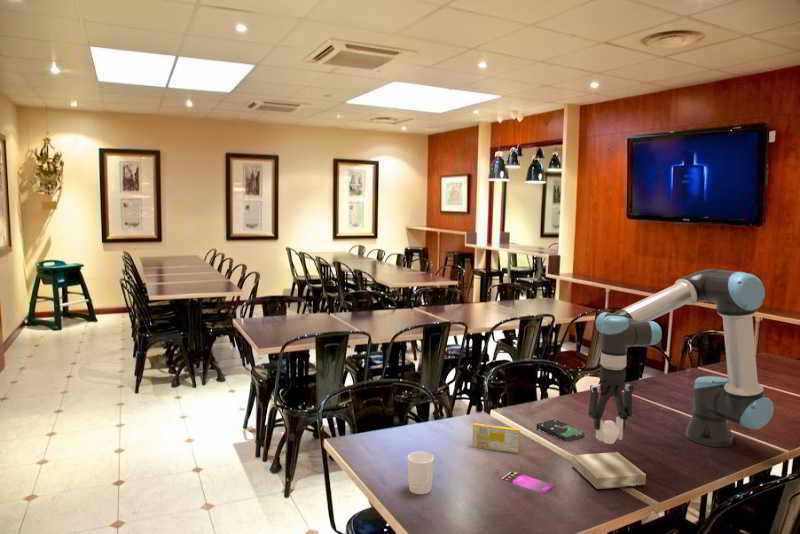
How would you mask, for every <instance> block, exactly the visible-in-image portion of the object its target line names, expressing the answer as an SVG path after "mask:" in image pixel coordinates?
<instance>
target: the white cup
mask: <svg viewBox="0 0 800 534" xmlns="http://www.w3.org/2000/svg"><path fill="white" fill-rule="evenodd" d="M406 459H407V461H406V462H407V480H408V481H407V482H408V491H409V492H411V493H412V494H415V495H426V494H428V493H430V492H431V491H432V489H433V488H432V487H433V486H432V485H433V478H434V476H433V475H434V465H435V463H434V462H435V457H434V455H433V454H432V453H429V452H427V451H413V452H411V453H409V454H408V455H407V457H406Z"/></svg>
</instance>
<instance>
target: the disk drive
mask: <svg viewBox="0 0 800 534" xmlns="http://www.w3.org/2000/svg"><path fill="white" fill-rule="evenodd" d="M536 428H537V429H540V430H541V431H544V432H546V433H548V434H550V435H552V436H555V437H557V438H559V439H561V440H563V441H565V442H567V441H570V442H572V441H571V440H574V439H577V438H580V439H582V438H581V437H584V438H585V436H586V434H585V433H586V432H585V431H583V430H581V429H580V428H577V427H574V426H572V425H570V424H567V423H565V422H563V421H560V420H559V419H556V418H554V419H550V420H545V421H544V422H543V423H542V422H539V423H536ZM537 429H536V430H537ZM541 431H540V432H541ZM546 433H545V434H546ZM548 434H547V435H548ZM550 435H549V436H550ZM552 436H551V437H552ZM559 439H558V440H559ZM561 440H560V441H561ZM577 440H578V439H577ZM563 441H562V442H563ZM574 441H575V440H574ZM565 442H564V443H565ZM567 443H568V442H567Z"/></svg>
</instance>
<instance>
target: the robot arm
mask: <svg viewBox="0 0 800 534" xmlns="http://www.w3.org/2000/svg"><path fill="white" fill-rule="evenodd" d="M765 293H766V291H765V286H764V285H763V282H762V281H761V280H760V278H759V277H757V276H756V275H754V274H752V273H747V272H745V271H735V270H726V269H719V268H718V269H717V268H707V269H703V270H699V271H696V272H693V273H691V274H689V275H686V276H683V277H681V278H679V279H677V280H676V281H674V284H673V285H670V286H669V287H667V288H665V289H663V290H660V291H658V292H656V293H654V294H652V295H650V296H647V297H645V298H643V299H641V300H639V301H636V302H635V303H632V304H630V305H628V306H626V307H624V308H622V309H619V310H617V311H615V312H611V311H610V312H609V311H608V312H607V311H605V312H603V311H602V313H601V312H600V313H599V314H598V315H597V317H596V319H595V329H596V330H597V331H598V332H599V333H600V334H601V339H600V340H601V341H600V342H601V344H600V361H599V364H600V366H599V381H598V384H596V385H592V384H591V385H589V389H590V398H589V406H588V416H589V417H590V418H592V419H593V420H594V421H593V428H594V430H595V439H597V440H598V441H599V442H603V440H602V437H603V424H604V420H603V419H602V417H603V415H604V412H605V409H606V405H607V403H608V401H610V398H611V397H614V400H615V405H616V409H617V413H618V416H616V417H615V418H616V419H615V424H616V427H617V428H618V430H619V431H620V434H619V435H618V438H617V439H618V440H619V441H621V440H623V430H624V429H625V428H626V421H627V420H628V419H629V418H630V417H632V415H633V392H634V390H635V389H634V388H635V387H634V386H633V385H631V384H630V383H626V382H625V381H626V377H627V376H626V373H627V369H626V367H627V355H628V348H631V347H633V348H634V347H649V346H654V345H656V344H658V343H660V341H661V340H662V335H663V333H662V327H661V326H660V325H659V324H658V322H655V321H653V320H655V319H657V318H659V317H661V316H664V315H665V314H666V315H667V314H668V313H670V312H672V311H675V310H677V309H678V308H681V307H683V306H685V305H689V306H691V305H694V304H696V303H703V302H705V303H711V304H715V305H716V313H717V314H718V315H719V316H720V317H722V324H723V336H724V347H725V357H726V359H725V360H726V370H727V377H722V376H714V375H713V376H710V375H709V376H699V377H697V378H696V379H695V380H694V386H693V393H692V394H693V396H692V411H691V412H692V414H691V418H690V419H689V422H688V425H687V426H686V429H685V437H686V438H687V439H688V440H689V441H692V442H694V443H697V444H699V445H703V446H707V447H714V448H725V447H730V446H732V445H733V434H732V430H731V427H730V423H729V421H731V422H733V423H735V424H738V425H740V426H741V427H743V428H748V429H750V430H759V429H761V428H763V427H765V426H766V425H767V424H768V423H769V422H770V420H771V419H772V417H773V414H774V403H773V401H772V400H771V399H770V398H768V397H766V396H765V392H764V387H763V385H761V384H760V382H759V381H758V372H757V371H758V369H757V358H756V347H755V333H754V322H753V316H754V315H755V314H757V313H758V309H759V308H760V307H761V306H762V304H764V302H763V301H764V299H765V298H766V297H765V296H766V294H765ZM623 390H624V392H623ZM622 392H623V394H622ZM599 393H600V394H599Z"/></svg>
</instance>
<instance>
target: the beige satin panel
mask: <svg viewBox="0 0 800 534" xmlns="http://www.w3.org/2000/svg"><path fill="white" fill-rule="evenodd" d="M571 466H573V468H574V469H576V471H577V472H578V473H580V474H581V475H582V476H583V477H584V478H585V479H586V480H587V481H589V483H590V484H592V485H593V487H594V488H595V489H597V490H603V489H615V488H617V489H618V488H627V487H626V486H631V487H640V486H645V485H646V482H647V481H646V479H647V474H646V473H644V472H643V471H642V470H641V469H640V468H638V466H636V465H635V464H634V463H632V462H630V461H629V460H628V459H627V458H625V456H623V455H621V454H620V453H619V452H618V451H615V452H600V453H585V454H572V455H571ZM636 485H638V486H636ZM639 485H640V486H639Z"/></svg>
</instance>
